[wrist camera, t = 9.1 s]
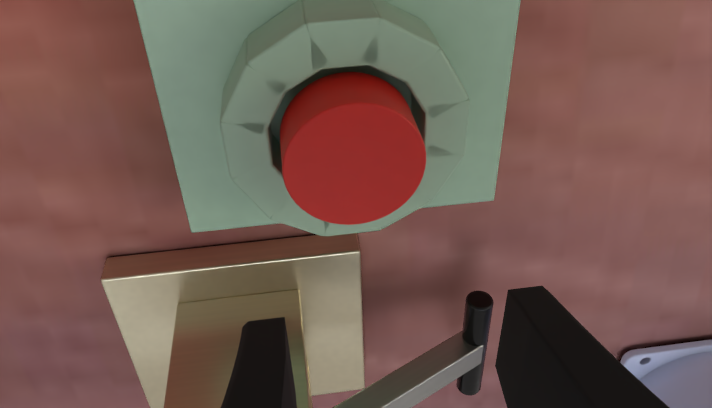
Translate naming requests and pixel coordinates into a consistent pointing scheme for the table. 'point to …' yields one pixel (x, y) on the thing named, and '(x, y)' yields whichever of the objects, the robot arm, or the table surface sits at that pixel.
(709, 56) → the table surface
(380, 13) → the stop box
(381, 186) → the stop button
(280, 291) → the switch bracket
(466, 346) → the power lever
